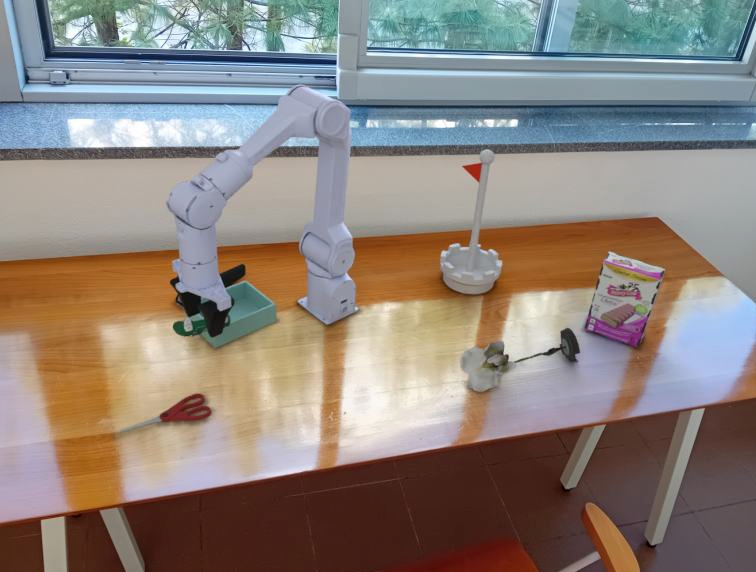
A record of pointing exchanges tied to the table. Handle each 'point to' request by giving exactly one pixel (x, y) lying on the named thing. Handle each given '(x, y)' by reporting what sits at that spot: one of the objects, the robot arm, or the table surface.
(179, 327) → the gaming controller
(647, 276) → the candy bar box
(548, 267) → the table surface
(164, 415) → the scissors
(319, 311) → the robot arm
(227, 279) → the electric trimmer
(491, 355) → the artificial flower
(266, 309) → the tub
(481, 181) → the flag stand
